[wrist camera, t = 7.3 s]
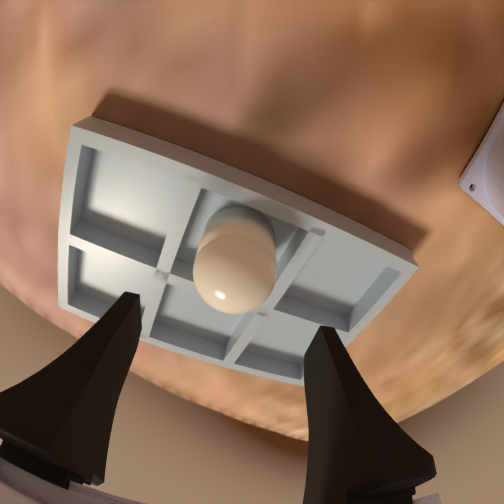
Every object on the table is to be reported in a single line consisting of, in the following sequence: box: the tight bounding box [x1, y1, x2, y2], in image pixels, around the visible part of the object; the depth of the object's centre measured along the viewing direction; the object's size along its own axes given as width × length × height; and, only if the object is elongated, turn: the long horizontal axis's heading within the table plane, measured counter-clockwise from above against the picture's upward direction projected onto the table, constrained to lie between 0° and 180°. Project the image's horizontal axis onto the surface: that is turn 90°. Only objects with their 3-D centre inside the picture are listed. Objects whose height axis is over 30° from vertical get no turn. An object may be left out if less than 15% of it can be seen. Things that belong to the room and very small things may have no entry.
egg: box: [193, 206, 277, 314], centre depth 16 cm, size 4×4×5 cm
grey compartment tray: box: [58, 116, 418, 386], centre depth 19 cm, size 20×14×2 cm
